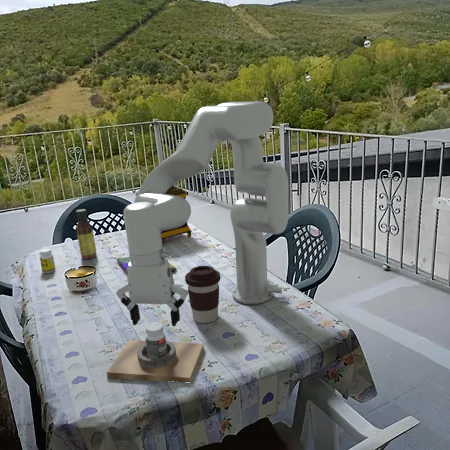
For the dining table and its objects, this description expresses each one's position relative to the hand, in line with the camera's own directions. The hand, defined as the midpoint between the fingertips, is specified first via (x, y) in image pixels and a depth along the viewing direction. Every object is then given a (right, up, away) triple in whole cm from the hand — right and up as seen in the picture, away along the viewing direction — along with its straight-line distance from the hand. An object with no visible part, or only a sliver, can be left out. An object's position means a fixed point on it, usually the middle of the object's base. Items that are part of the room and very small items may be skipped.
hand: (155, 322), depth 107 cm
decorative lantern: (-10, +17, +96) cm, 98 cm away
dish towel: (-14, +7, +63) cm, 65 cm away
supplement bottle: (-51, +6, +64) cm, 82 cm away
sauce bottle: (-39, +10, +77) cm, 87 cm away
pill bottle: (0, -9, +2) cm, 9 cm away
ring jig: (0, -10, +2) cm, 11 cm away
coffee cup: (+11, -4, +23) cm, 26 cm away
